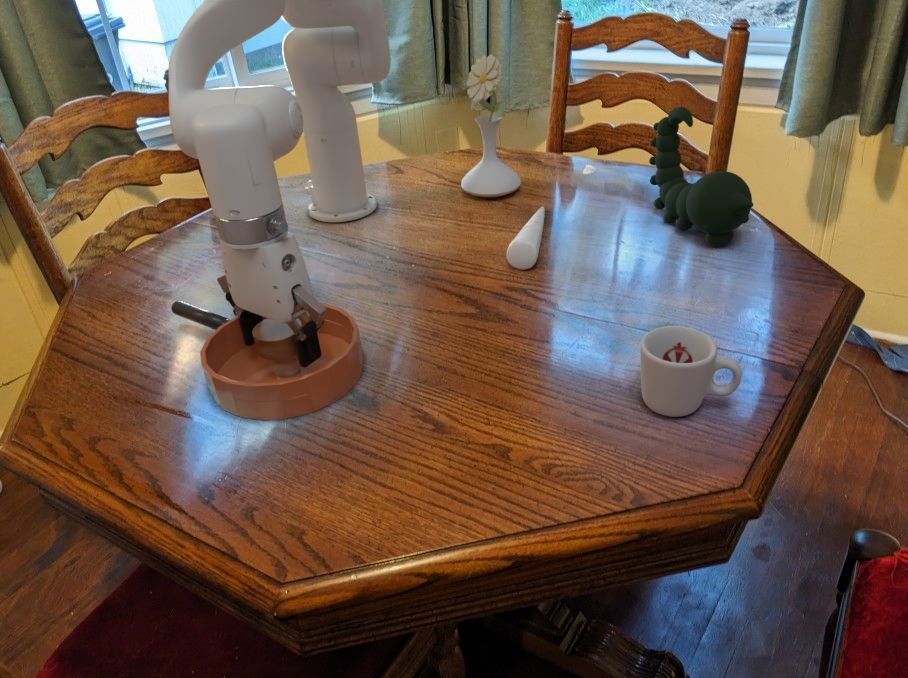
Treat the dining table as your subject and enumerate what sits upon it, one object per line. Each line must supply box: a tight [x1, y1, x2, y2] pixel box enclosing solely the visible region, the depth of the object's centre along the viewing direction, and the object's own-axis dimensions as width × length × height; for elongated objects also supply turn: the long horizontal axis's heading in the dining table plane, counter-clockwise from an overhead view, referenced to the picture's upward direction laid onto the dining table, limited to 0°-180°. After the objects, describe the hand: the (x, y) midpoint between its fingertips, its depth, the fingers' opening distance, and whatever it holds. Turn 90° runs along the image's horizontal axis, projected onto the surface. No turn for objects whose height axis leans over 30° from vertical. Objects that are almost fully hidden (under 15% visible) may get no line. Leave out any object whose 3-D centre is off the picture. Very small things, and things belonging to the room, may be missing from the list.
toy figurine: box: [648, 106, 754, 247], centre depth 114 cm, size 9×19×25 cm
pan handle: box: [170, 300, 232, 331], centre depth 98 cm, size 12×2×2 cm, turn 55°
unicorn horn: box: [506, 205, 546, 271], centre depth 119 cm, size 5×24×5 cm, turn 163°
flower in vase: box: [460, 53, 522, 198], centre depth 131 cm, size 13×11×25 cm
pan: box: [199, 302, 364, 421], centre depth 92 cm, size 19×19×5 cm
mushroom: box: [252, 318, 303, 377], centre depth 91 cm, size 6×6×6 cm
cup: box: [639, 325, 742, 418], centre depth 80 cm, size 11×8×8 cm
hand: (283, 350), depth 91 cm, fingers open, 9 cm apart
